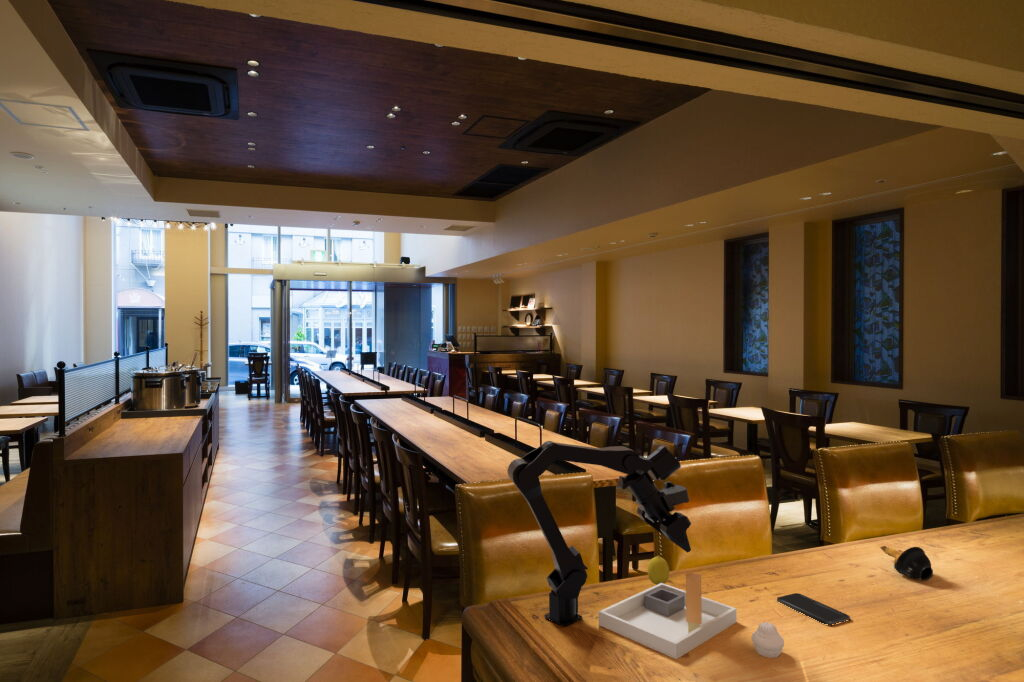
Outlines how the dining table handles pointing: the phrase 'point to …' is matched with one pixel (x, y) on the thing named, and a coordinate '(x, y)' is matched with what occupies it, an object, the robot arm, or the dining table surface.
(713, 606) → the walled tray
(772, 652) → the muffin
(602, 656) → the dining table surface
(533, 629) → the dining table surface
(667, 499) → the robot arm
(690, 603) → the tan square peg
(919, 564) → the toilet plunger
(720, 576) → the dining table surface
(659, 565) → the lemon
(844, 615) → the phone
